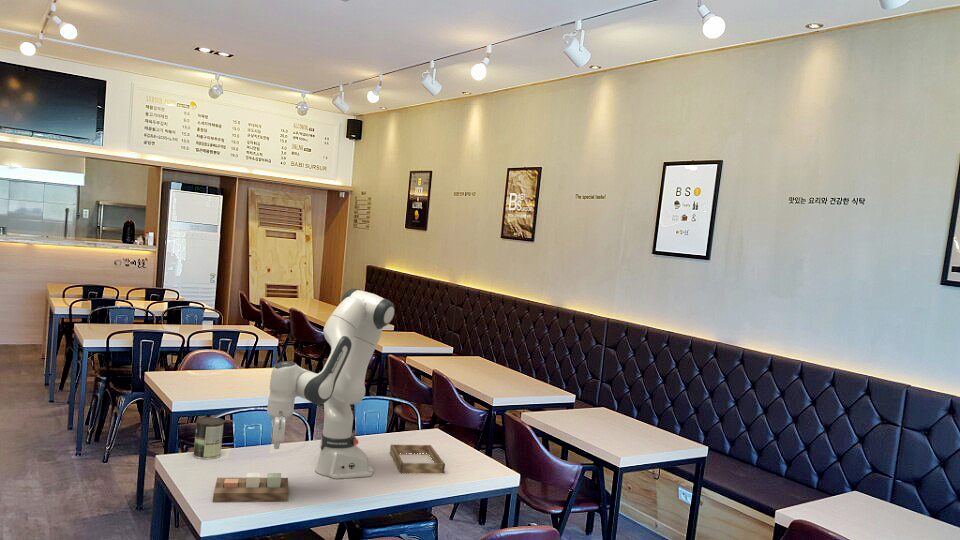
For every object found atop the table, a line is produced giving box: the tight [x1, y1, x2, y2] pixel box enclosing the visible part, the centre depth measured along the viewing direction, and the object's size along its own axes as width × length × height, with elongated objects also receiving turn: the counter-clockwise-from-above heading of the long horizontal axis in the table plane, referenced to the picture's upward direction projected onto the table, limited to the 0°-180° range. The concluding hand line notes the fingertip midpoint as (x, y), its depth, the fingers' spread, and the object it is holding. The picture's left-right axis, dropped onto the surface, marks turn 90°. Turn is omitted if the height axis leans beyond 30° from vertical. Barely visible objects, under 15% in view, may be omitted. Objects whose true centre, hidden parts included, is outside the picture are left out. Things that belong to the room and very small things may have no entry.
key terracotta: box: [224, 479, 238, 488], centre depth 233 cm, size 4×4×4 cm
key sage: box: [266, 472, 282, 488], centre depth 238 cm, size 4×4×4 cm
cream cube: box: [245, 472, 261, 488], centre depth 236 cm, size 4×4×4 cm
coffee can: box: [192, 416, 225, 460], centre depth 270 cm, size 10×10×14 cm
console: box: [212, 477, 290, 503], centre depth 236 cm, size 24×15×3 cm, turn 107°
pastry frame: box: [389, 444, 446, 475], centre depth 287 cm, size 18×26×4 cm
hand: (276, 447), depth 237 cm, fingers closed
